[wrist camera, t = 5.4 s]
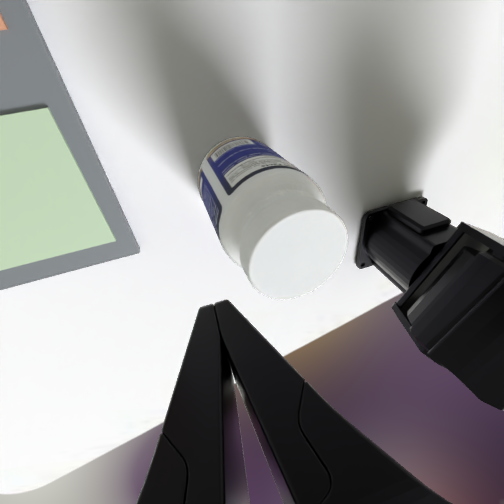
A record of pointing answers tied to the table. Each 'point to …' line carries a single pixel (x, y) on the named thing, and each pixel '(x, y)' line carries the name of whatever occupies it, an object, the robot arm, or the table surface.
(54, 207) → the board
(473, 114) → the table surface
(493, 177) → the table surface
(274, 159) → the pill bottle
